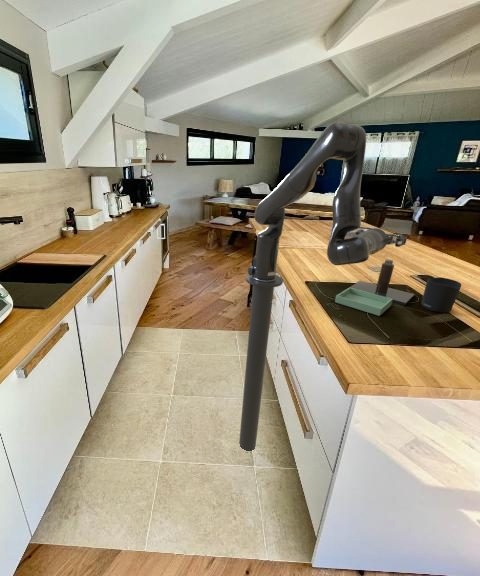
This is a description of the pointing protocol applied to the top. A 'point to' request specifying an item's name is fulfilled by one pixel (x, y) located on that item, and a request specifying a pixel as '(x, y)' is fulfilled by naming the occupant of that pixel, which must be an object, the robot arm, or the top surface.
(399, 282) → the top surface
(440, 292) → the pen holder
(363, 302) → the tray
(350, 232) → the ramen bowl
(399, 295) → the slate board
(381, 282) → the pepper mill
